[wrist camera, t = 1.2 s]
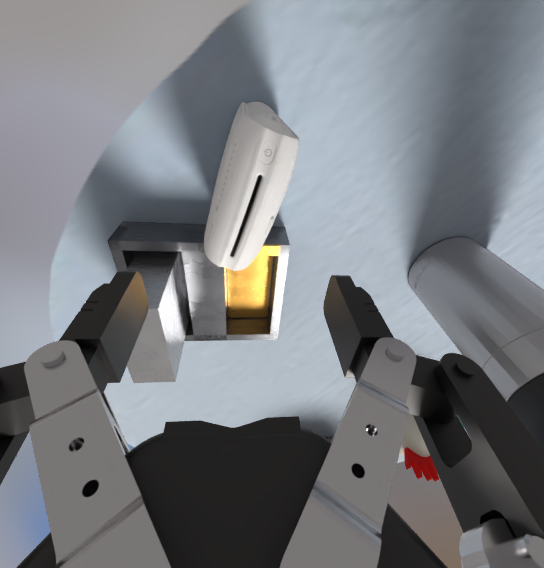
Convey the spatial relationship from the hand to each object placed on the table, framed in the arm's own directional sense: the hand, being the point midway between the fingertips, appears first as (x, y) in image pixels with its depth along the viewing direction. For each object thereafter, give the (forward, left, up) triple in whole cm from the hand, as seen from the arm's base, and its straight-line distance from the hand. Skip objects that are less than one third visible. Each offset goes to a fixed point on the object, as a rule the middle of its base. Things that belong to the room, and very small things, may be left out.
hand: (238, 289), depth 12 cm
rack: (+4, +13, -18) cm, 22 cm away
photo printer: (0, -1, -18) cm, 18 cm away
